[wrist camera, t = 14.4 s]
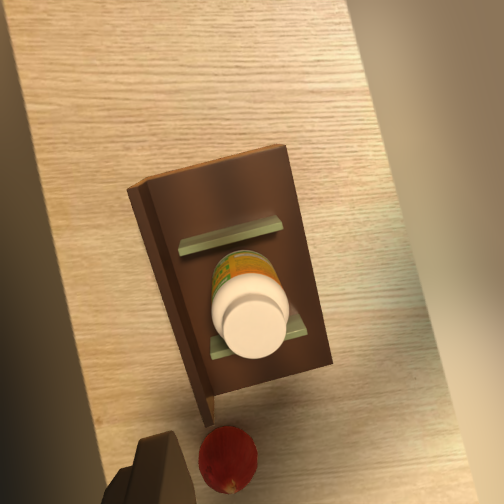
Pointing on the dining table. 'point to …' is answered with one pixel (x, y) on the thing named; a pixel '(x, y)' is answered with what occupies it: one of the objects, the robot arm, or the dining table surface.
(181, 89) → the dining table surface
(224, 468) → the onion
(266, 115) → the dining table surface
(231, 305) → the supplement bottle
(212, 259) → the wooden divided tray
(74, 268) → the dining table surface
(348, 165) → the dining table surface
